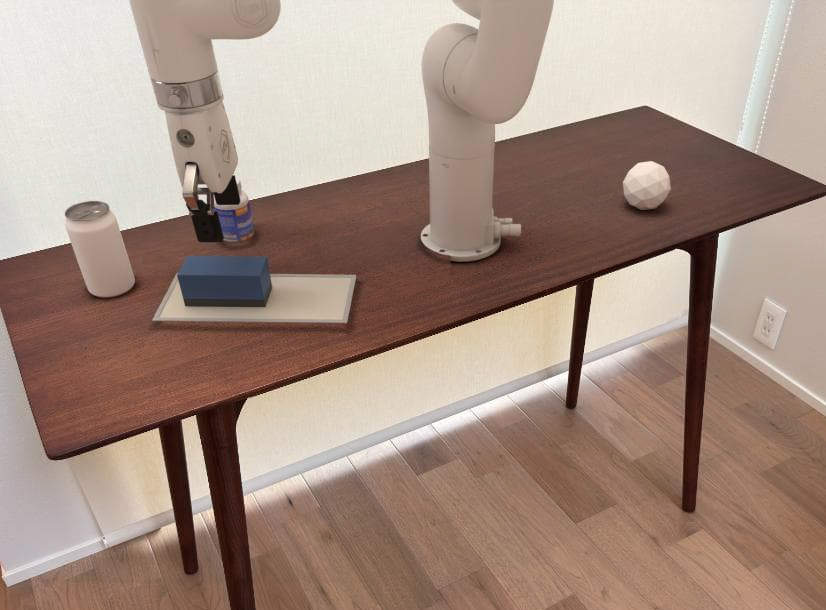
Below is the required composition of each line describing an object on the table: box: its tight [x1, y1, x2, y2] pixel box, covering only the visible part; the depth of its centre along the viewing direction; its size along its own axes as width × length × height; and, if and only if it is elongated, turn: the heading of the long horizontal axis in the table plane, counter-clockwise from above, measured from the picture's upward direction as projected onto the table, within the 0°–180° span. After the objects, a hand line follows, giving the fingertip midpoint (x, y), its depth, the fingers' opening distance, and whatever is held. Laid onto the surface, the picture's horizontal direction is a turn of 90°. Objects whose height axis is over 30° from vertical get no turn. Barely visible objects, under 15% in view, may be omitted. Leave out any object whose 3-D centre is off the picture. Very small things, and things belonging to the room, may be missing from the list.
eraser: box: [176, 255, 272, 307], centre depth 107 cm, size 11×5×5 cm, turn 90°
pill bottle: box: [214, 176, 255, 243], centre depth 120 cm, size 5×5×10 cm
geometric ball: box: [622, 160, 672, 211], centre depth 131 cm, size 8×8×8 cm
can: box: [64, 200, 136, 299], centre depth 108 cm, size 6×6×12 cm
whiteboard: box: [151, 272, 357, 324], centre depth 109 cm, size 26×12×1 cm, turn 90°
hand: (220, 221), depth 102 cm, fingers open, 9 cm apart
